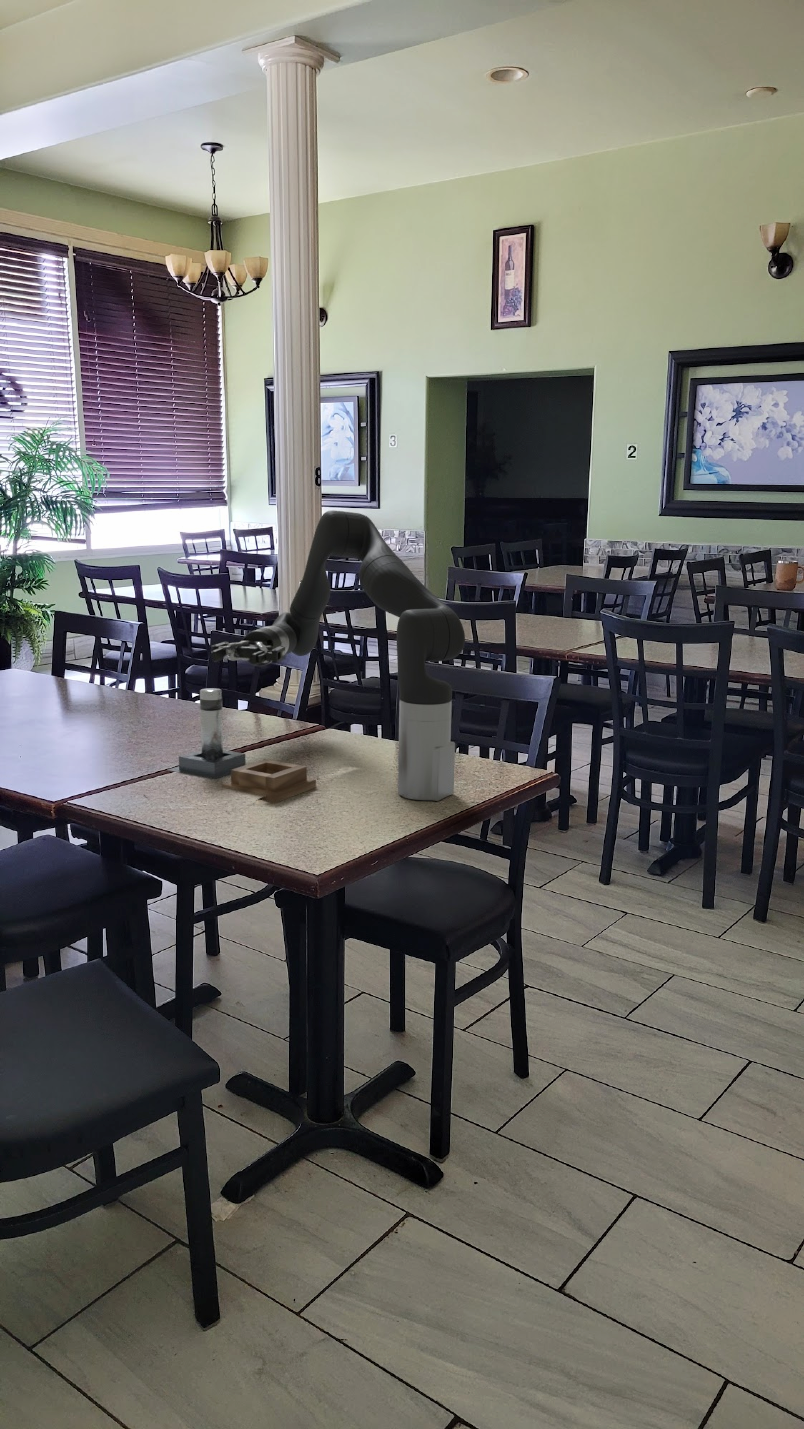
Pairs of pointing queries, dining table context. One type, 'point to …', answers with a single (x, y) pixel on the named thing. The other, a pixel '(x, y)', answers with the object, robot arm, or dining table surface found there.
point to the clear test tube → (211, 723)
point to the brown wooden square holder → (271, 780)
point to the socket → (209, 764)
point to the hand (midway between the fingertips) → (234, 658)
